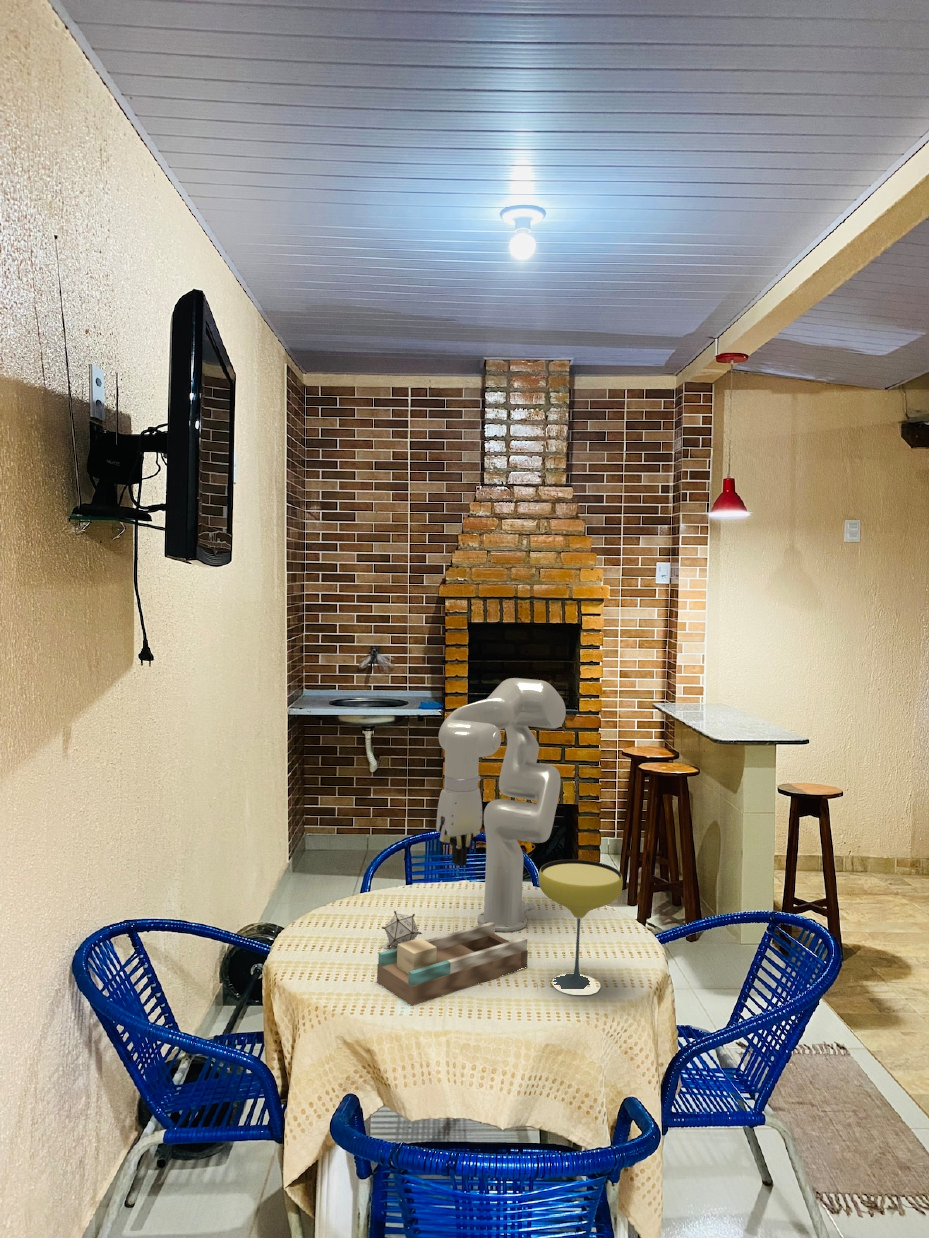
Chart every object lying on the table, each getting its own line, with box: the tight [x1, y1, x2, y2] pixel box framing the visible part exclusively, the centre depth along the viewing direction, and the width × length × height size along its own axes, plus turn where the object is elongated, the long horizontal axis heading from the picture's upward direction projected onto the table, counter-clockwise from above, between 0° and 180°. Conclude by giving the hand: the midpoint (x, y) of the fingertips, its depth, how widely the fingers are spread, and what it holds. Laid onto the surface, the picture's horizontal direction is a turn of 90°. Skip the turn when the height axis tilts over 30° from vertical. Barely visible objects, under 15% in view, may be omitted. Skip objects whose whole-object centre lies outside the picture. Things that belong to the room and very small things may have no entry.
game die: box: [380, 910, 422, 949], centre depth 217 cm, size 9×8×10 cm
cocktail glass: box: [538, 859, 624, 989], centre depth 199 cm, size 18×18×25 cm
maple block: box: [396, 937, 437, 974], centre depth 196 cm, size 6×6×5 cm
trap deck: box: [376, 922, 529, 1006], centre depth 203 cm, size 32×13×6 cm, turn 129°
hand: (459, 863), depth 205 cm, fingers closed
